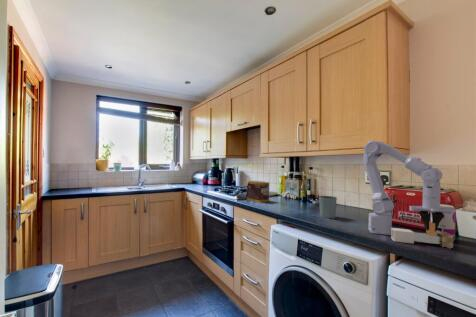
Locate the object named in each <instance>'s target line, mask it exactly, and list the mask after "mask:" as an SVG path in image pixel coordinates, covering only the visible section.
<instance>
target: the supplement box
mask: <svg viewBox="0 0 476 317" xmlns="http://www.w3.org/2000/svg"><path fill="white" fill-rule="evenodd" d="M246 184H247V186H246V188H247V191H246V200H247V201H250V202H256V203H264V202H265V203H266V202H269V201H270V198H269V197H270V182H269V181H262V180H247V183H246Z"/></svg>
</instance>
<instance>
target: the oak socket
mask: <svg viewBox="0 0 476 317" xmlns="http://www.w3.org/2000/svg"><path fill="white" fill-rule="evenodd" d="M436 235H441V236H442V244H439V246H440V247H441V246H442V247H441V248H443V247H447V248H446V249H451V248H453V249H454V240H453V236H452V235H450V234H448V233H447V232H442V231H436Z"/></svg>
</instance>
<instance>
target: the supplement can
mask: <svg viewBox="0 0 476 317" xmlns="http://www.w3.org/2000/svg"><path fill="white" fill-rule="evenodd" d="M440 208H447V209H453V210H454V214H446V213H443V214H444V217H443V219H442V220H441V221H440V223H439V225H438V228H437V231H442V232H447V233H448V234H450V235H452V236H453V241H455V240H456V212H457V211H456V208H455V207H454V206H453V205H450V204H443V203H440ZM438 212H439V211H438ZM430 222H432V212H430ZM435 235H436V231H435Z"/></svg>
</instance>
